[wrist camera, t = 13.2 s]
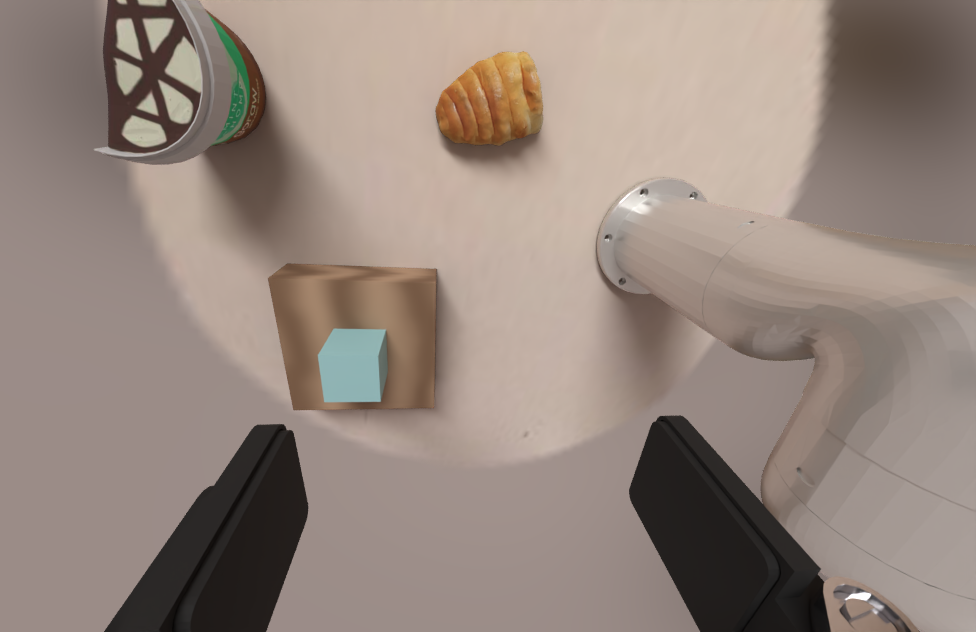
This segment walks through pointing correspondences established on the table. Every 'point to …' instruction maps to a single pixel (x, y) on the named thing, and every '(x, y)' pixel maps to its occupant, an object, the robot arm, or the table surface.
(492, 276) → the table surface
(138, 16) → the food container
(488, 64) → the pastry
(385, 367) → the teal cube
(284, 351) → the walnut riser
